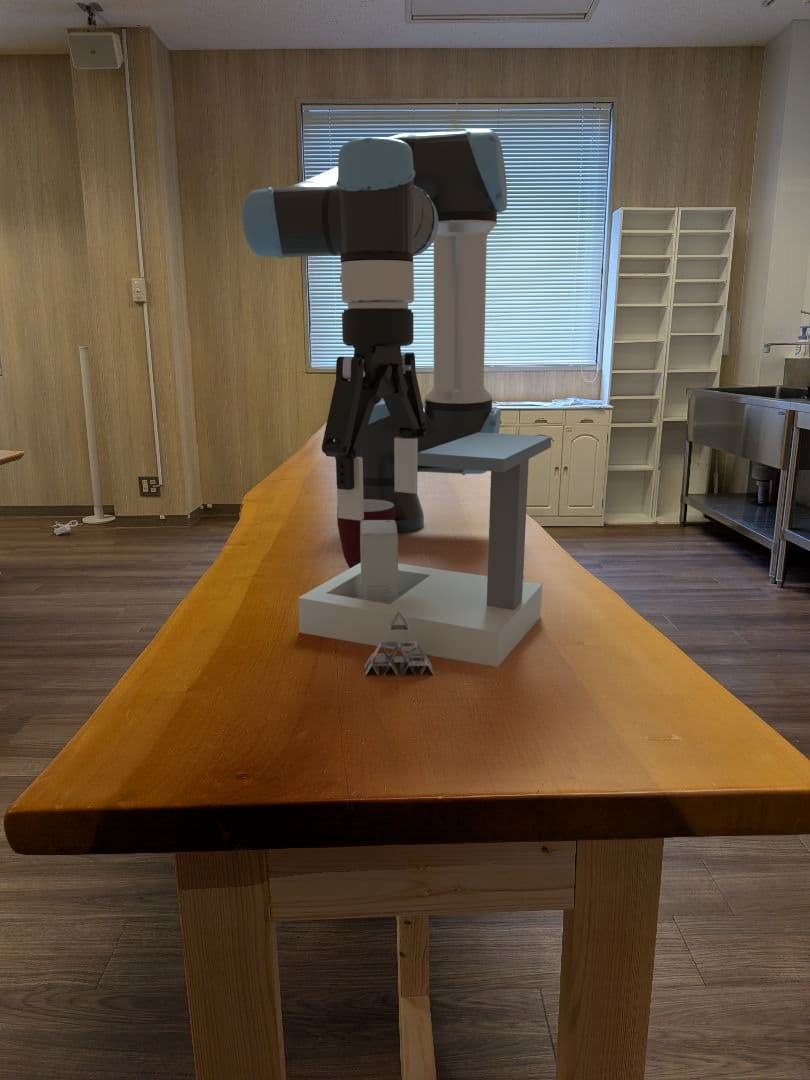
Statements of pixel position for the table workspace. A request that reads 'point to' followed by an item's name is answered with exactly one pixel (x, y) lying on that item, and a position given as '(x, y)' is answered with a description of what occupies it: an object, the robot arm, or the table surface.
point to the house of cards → (390, 659)
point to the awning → (498, 501)
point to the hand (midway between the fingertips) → (380, 504)
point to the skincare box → (379, 560)
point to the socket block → (423, 614)
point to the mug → (351, 528)
